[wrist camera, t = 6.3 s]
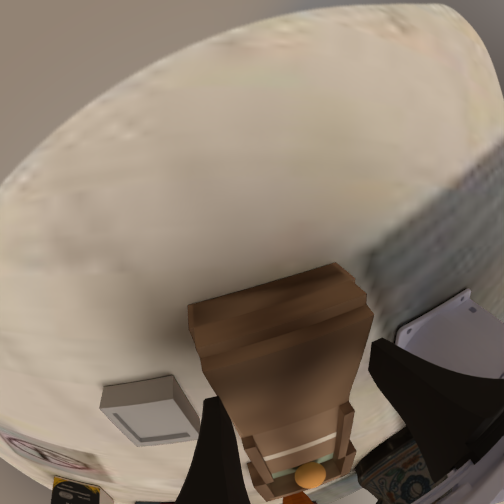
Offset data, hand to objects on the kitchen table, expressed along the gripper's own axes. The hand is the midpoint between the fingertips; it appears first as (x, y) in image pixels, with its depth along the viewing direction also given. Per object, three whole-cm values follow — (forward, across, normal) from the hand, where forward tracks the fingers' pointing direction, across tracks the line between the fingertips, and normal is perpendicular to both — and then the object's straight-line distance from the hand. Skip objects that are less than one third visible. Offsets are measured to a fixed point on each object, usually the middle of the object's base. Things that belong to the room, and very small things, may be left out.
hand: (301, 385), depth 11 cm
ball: (+2, -1, +22) cm, 22 cm away
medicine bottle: (+5, +30, +23) cm, 38 cm away
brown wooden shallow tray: (+4, 0, +11) cm, 12 cm away
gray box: (+4, +9, +4) cm, 11 cm away
